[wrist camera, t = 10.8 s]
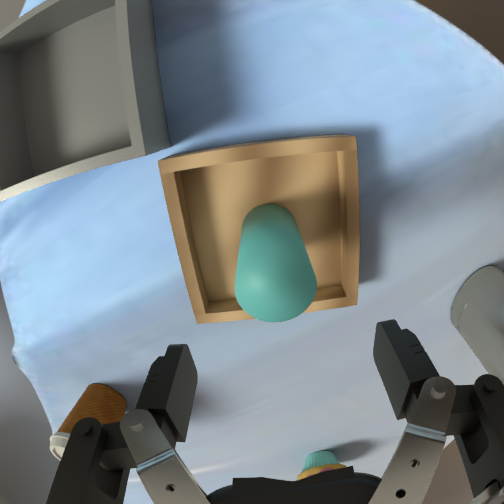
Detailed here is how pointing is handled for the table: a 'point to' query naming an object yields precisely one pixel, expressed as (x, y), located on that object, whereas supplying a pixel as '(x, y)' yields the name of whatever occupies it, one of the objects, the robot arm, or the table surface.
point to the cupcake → (319, 463)
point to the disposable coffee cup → (89, 413)
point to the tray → (257, 193)
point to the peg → (273, 266)
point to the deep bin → (78, 91)
